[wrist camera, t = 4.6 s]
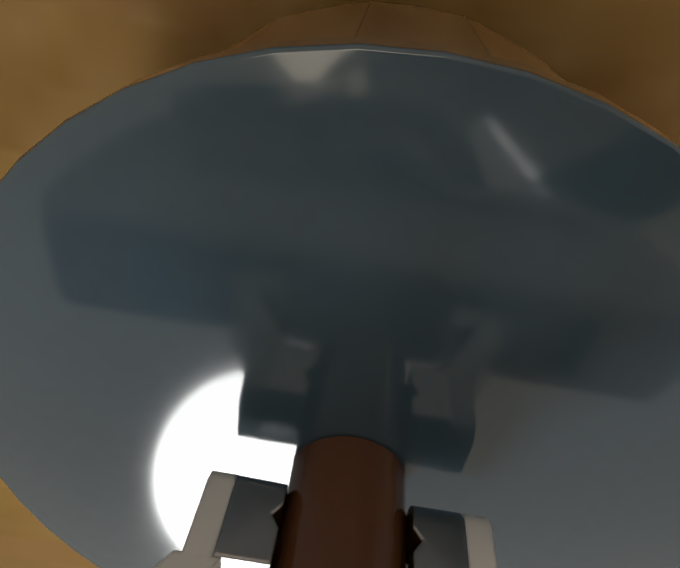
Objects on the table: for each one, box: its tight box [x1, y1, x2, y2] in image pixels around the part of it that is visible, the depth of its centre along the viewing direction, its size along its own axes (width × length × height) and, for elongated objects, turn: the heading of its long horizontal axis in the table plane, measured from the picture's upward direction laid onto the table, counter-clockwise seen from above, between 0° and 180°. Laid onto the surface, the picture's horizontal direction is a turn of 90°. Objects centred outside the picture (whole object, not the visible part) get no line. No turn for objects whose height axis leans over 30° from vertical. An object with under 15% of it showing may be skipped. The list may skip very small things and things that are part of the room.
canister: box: [224, 1, 561, 79], centre depth 16 cm, size 16×16×8 cm
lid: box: [0, 37, 680, 568], centre depth 11 cm, size 17×17×5 cm
